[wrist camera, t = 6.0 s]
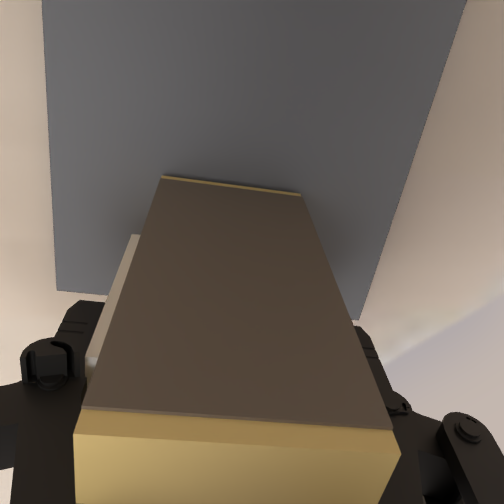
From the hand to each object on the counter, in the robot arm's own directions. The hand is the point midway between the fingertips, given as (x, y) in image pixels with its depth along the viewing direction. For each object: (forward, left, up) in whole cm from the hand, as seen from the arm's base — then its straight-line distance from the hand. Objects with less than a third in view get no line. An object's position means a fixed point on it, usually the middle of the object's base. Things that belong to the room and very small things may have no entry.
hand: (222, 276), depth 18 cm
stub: (0, 0, -2) cm, 2 cm away
